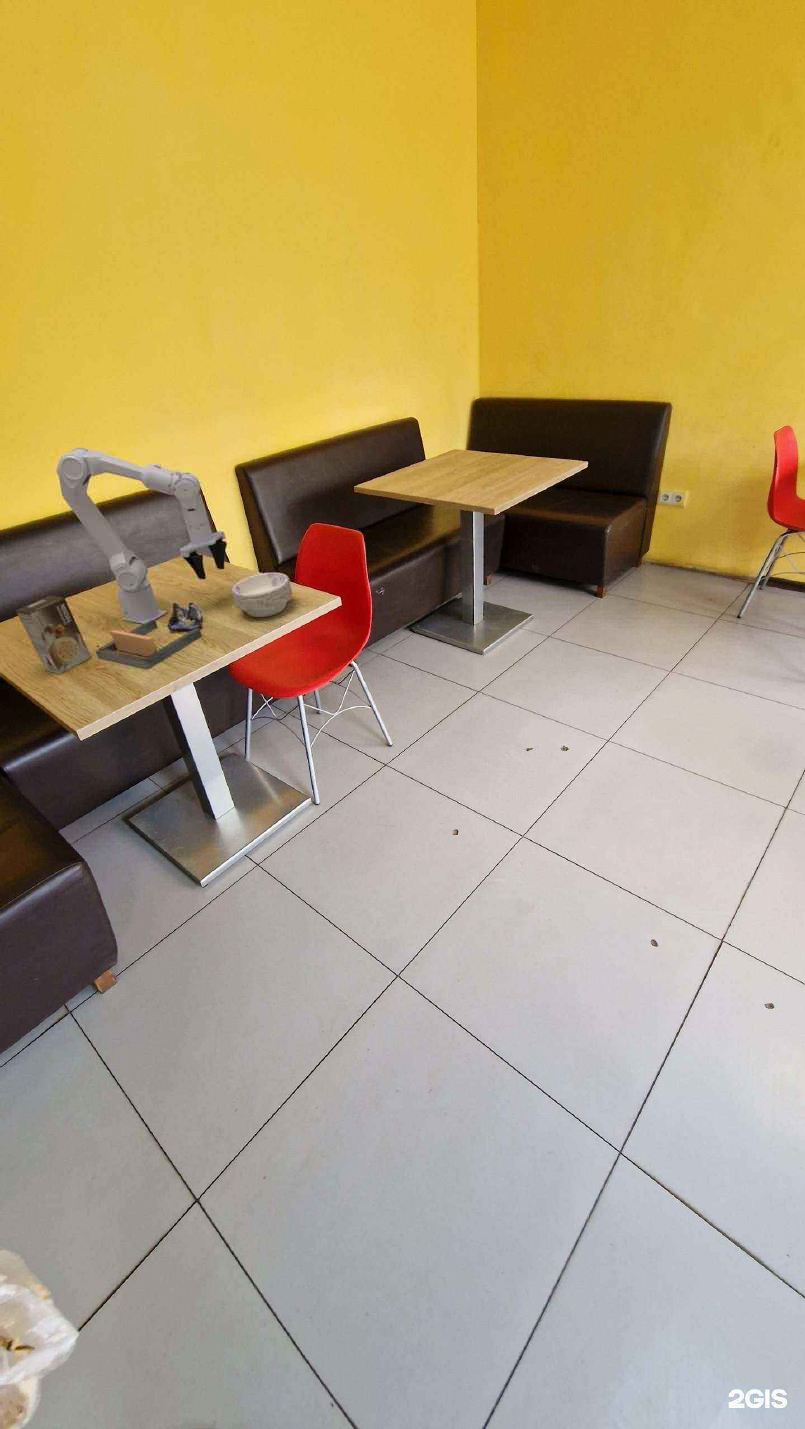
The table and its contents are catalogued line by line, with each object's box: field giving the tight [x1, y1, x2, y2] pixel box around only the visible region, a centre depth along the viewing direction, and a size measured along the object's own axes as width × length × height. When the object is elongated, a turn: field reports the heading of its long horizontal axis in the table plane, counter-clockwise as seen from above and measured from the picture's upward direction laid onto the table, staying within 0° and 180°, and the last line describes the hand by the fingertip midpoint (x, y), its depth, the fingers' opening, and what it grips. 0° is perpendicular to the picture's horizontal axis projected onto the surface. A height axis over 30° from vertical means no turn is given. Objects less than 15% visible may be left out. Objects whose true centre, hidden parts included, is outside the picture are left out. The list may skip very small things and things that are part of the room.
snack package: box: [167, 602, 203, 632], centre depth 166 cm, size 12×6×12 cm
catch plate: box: [109, 629, 158, 657], centre depth 154 cm, size 14×1×5 cm, turn 61°
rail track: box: [95, 619, 203, 670], centre depth 157 cm, size 18×18×2 cm
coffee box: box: [15, 595, 92, 675], centre depth 150 cm, size 9×6×16 cm
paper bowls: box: [231, 572, 293, 618], centre depth 167 cm, size 15×15×8 cm
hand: (211, 573), depth 170 cm, fingers open, 7 cm apart
